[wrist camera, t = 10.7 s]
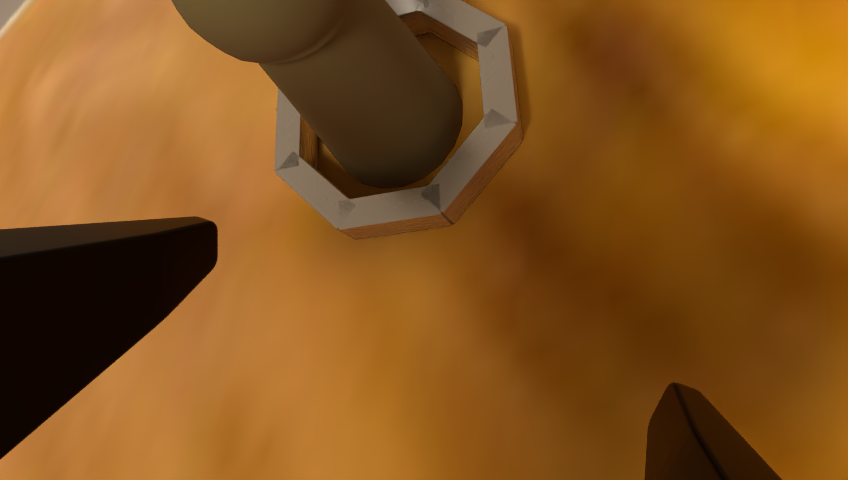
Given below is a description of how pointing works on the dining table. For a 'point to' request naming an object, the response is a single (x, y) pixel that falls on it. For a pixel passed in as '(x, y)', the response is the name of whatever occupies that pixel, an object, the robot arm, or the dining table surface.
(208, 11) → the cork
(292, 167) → the octagon frame
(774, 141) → the dining table surface
